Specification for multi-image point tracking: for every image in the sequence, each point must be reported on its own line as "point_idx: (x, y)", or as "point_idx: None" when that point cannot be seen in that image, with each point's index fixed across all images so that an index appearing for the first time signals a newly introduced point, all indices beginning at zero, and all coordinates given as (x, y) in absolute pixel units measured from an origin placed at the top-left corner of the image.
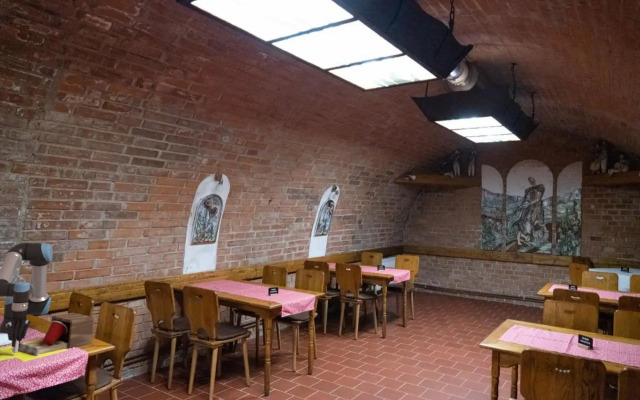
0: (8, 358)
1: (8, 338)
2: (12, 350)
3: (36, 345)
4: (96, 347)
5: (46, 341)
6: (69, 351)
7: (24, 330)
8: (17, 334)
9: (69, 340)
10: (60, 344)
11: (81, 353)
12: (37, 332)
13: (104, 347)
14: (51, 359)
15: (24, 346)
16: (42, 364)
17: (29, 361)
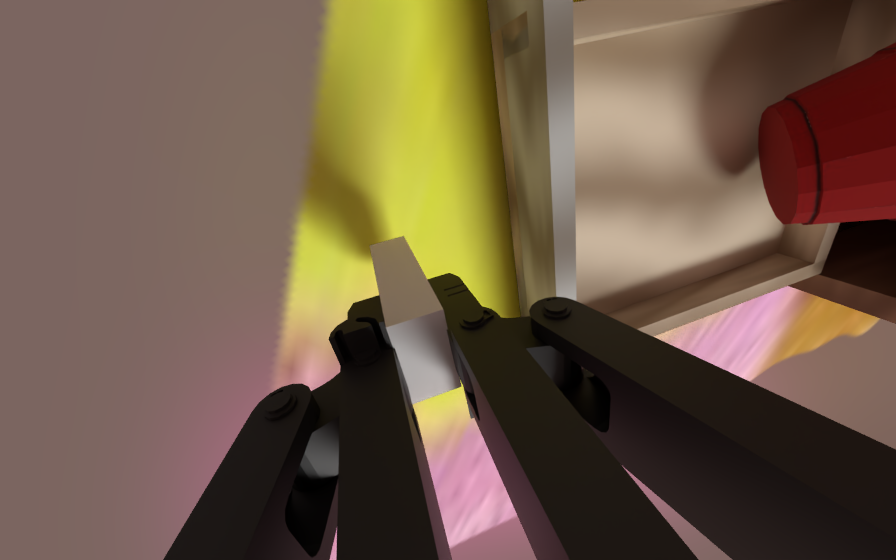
0: (314, 323)
1: (243, 447)
2: (372, 254)
3: (708, 25)
4: (842, 312)
5: (781, 171)
6: (720, 329)
7: (718, 539)
8: (496, 429)
9: (855, 297)
10: (770, 286)
11: None
12: None
13: (853, 332)
14: None
15: (540, 187)
16: (472, 522)
17: (436, 456)
